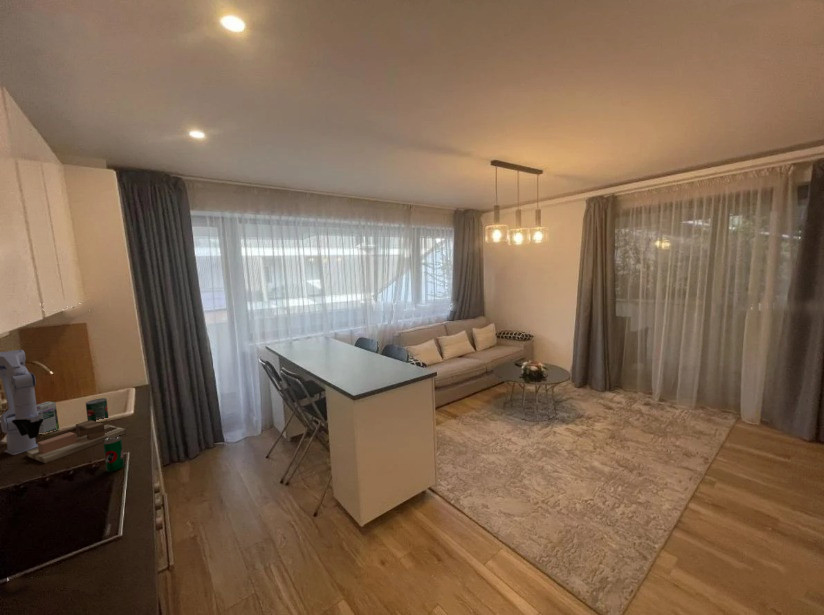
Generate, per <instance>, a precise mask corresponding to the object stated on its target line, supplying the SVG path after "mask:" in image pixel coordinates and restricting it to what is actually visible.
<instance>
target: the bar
mask: <svg viewBox="0 0 824 615" xmlns="http://www.w3.org/2000/svg"><path fill="white" fill-rule="evenodd" d="M76 435H77V433H74V432H71V431H69V432H65V433H62V434H60V435H57V436H54V437H50V438H47V439H45V440H42V441H38V442H37V444H38V447H37V448H38V450H39V452H40V453H43V454H45V453H47V452H50V451H53V450H56V449H59V448H62V447H65V446H68V445H70V444H73V443H76Z"/></svg>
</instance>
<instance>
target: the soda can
mask: <svg viewBox="0 0 824 615" xmlns="http://www.w3.org/2000/svg"><path fill="white" fill-rule="evenodd" d="M102 443H103V451H104V452H103V453H104V461H105V470H106V472H108V473H113V471H114V472H116V470H117V471H119V470H121V469H122V468H124V466H125V459H124V450H123V440H122V438H121V436H113V437H110V438H107V439H105V441H104V442H102ZM120 468H121V469H120ZM118 469H119V470H118Z"/></svg>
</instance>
